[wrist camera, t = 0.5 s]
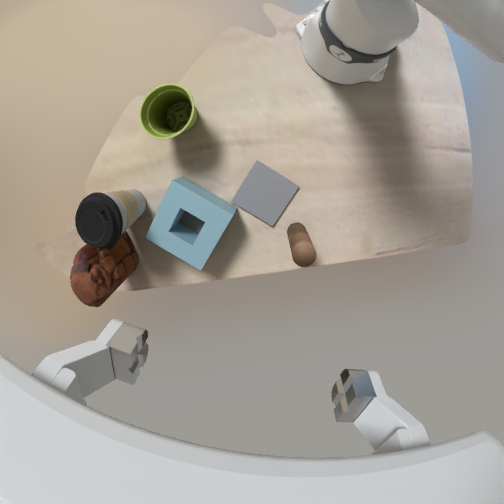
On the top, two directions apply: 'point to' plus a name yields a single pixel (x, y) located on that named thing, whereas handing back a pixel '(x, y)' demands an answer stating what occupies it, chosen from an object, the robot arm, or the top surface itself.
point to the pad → (265, 193)
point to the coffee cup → (108, 216)
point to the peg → (301, 245)
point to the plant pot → (167, 111)
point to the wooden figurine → (102, 270)
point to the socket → (179, 236)
